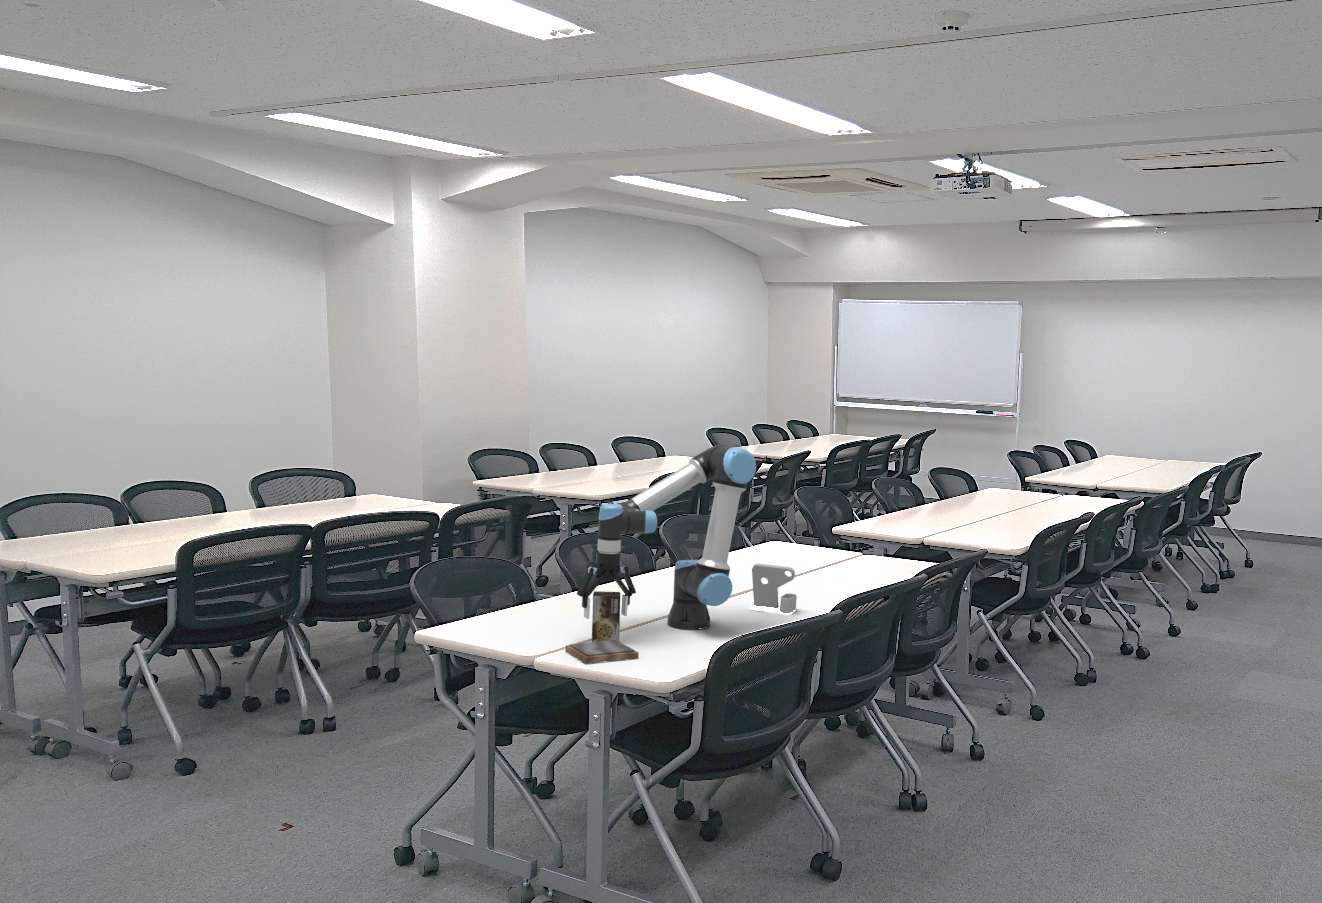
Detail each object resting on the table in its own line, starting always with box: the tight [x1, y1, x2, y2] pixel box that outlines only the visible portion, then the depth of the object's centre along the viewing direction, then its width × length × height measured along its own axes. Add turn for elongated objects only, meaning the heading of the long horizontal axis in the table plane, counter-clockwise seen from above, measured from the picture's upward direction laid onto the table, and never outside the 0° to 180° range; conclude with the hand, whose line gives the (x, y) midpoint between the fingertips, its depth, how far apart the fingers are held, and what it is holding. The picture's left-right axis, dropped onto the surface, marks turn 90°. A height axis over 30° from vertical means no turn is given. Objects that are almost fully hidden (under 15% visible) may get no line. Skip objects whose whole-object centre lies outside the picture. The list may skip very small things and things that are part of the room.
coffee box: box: [591, 590, 622, 642], centre depth 352 cm, size 9×6×16 cm
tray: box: [565, 640, 640, 664], centre depth 337 cm, size 18×15×2 cm
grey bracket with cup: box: [751, 563, 798, 613], centre depth 408 cm, size 17×10×18 cm, turn 68°
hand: (605, 616), depth 352 cm, fingers open, 13 cm apart
